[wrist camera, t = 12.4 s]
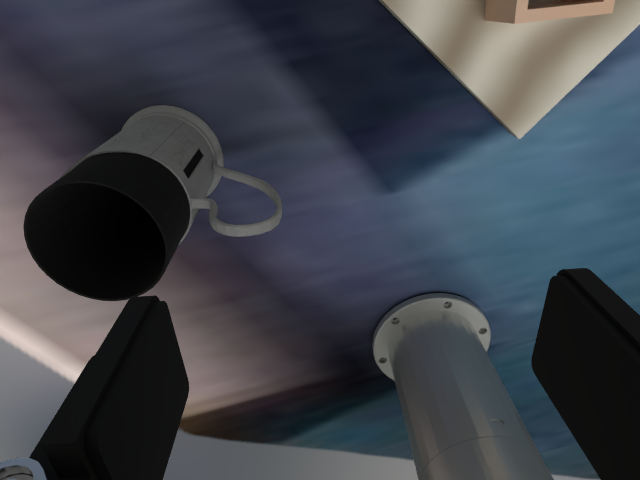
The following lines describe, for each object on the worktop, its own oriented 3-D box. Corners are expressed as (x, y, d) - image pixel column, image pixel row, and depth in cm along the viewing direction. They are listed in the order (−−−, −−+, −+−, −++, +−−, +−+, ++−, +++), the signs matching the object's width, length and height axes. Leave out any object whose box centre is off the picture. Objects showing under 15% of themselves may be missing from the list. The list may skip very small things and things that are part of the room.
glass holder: (106, 105, 34) (-16, 169, 21) (285, 103, 35) (274, 165, 22) (130, 206, 38) (40, 311, 25) (289, 203, 39) (282, 305, 26)
